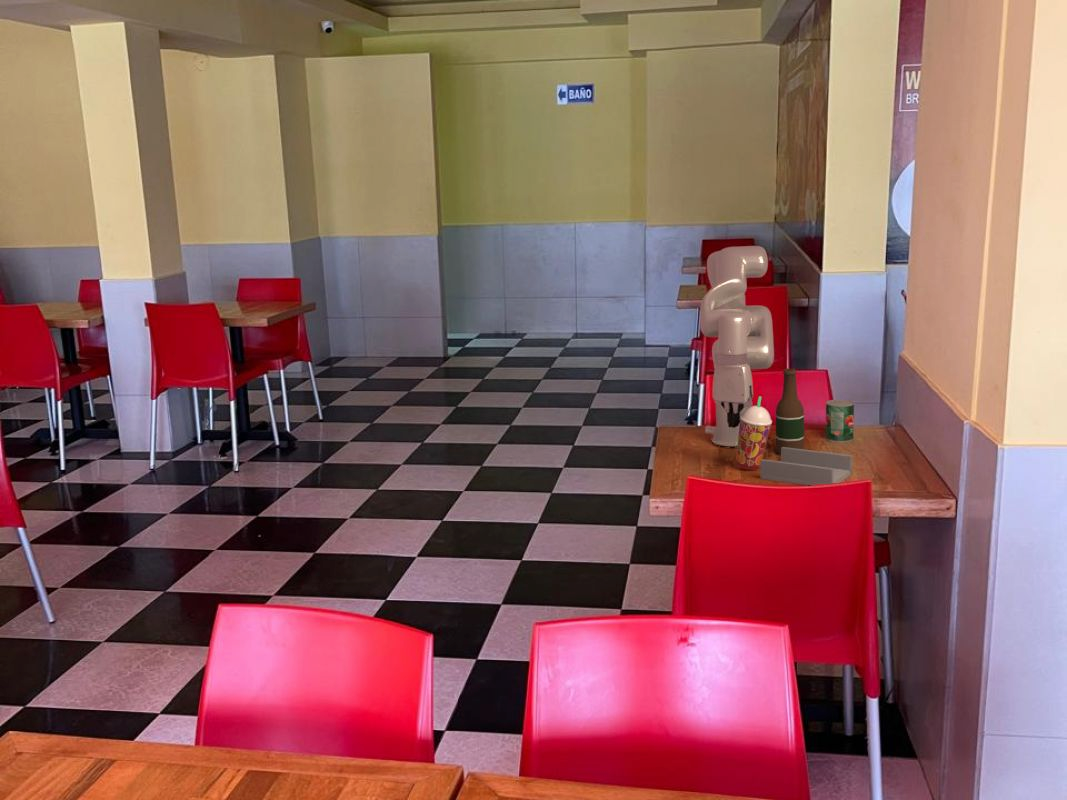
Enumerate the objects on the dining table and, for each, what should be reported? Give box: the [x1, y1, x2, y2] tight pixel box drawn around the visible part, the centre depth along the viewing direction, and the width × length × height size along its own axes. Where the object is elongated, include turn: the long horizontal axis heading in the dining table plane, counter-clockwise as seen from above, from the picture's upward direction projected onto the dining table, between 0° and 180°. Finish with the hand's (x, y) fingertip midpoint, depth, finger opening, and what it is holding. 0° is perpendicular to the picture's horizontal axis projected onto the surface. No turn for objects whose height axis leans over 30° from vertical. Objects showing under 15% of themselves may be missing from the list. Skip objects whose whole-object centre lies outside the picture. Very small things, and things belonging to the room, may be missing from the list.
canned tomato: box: [825, 399, 855, 443], centre depth 295 cm, size 8×8×11 cm
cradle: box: [759, 447, 853, 486], centre depth 263 cm, size 19×14×5 cm
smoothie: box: [735, 396, 773, 471], centre depth 269 cm, size 8×8×20 cm
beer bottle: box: [775, 368, 805, 456], centre depth 283 cm, size 8×8×24 cm
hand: (733, 426), depth 273 cm, fingers closed
